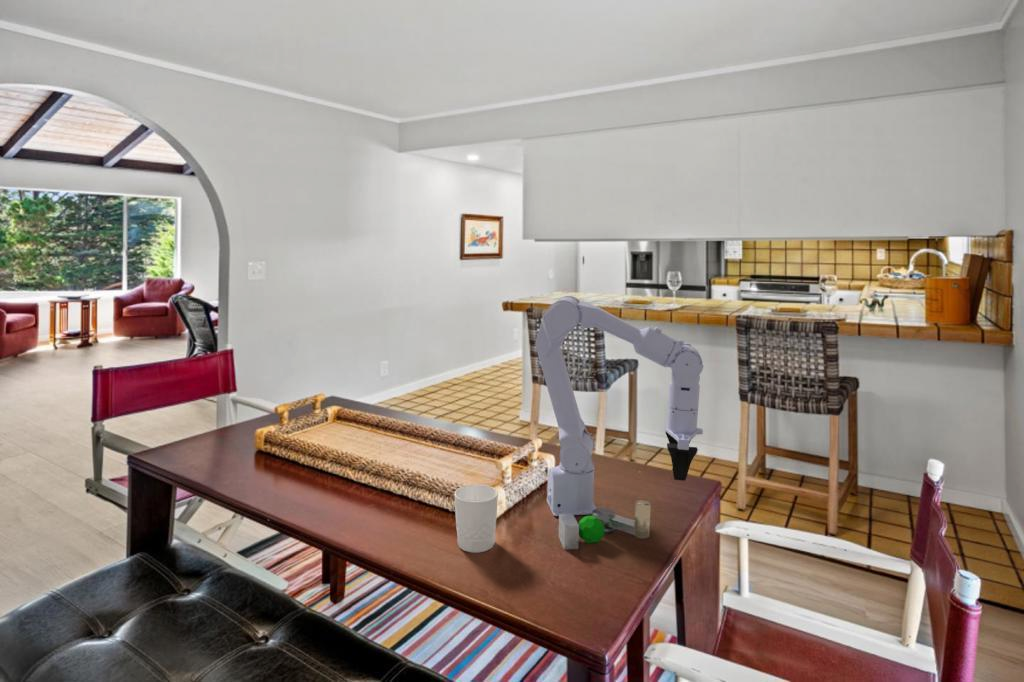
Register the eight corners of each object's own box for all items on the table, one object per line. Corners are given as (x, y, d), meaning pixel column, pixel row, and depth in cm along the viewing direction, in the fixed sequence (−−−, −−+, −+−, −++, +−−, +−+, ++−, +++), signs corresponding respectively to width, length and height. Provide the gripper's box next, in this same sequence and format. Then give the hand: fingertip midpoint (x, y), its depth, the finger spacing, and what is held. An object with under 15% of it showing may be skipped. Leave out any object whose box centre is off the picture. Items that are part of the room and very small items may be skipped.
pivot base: (594, 535, 117) (594, 530, 117) (588, 524, 121) (588, 519, 121) (618, 533, 117) (618, 528, 117) (610, 522, 122) (611, 518, 122)
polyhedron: (581, 549, 111) (582, 524, 111) (573, 536, 116) (574, 512, 115) (608, 546, 112) (608, 522, 112) (599, 534, 117) (599, 510, 116)
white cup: (497, 533, 117) (497, 484, 115) (497, 554, 109) (498, 501, 107) (455, 533, 117) (455, 484, 115) (453, 555, 109) (453, 502, 107)
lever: (587, 523, 119) (588, 493, 118) (598, 515, 122) (599, 486, 121) (643, 541, 112) (644, 509, 111) (653, 532, 115) (654, 501, 114)
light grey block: (564, 549, 111) (564, 526, 110) (558, 536, 116) (559, 514, 115) (578, 548, 111) (579, 525, 111) (571, 535, 116) (572, 513, 116)
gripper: (707, 418, 113) (702, 488, 115) (700, 398, 127) (696, 461, 129) (668, 415, 114) (664, 484, 116) (665, 396, 128) (661, 458, 130)
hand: (678, 472), depth 123 cm, fingers open, 7 cm apart
